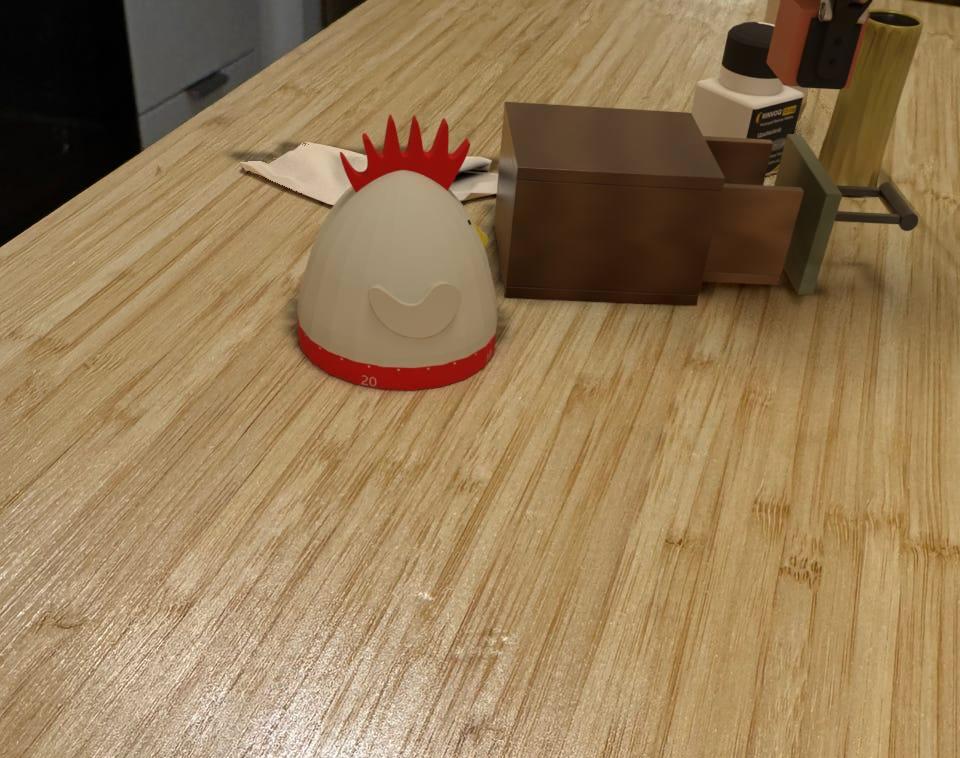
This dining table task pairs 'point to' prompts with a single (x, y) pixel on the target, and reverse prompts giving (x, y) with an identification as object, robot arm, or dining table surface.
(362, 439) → the dining table surface
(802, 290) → the drawer
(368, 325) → the kitchen timer
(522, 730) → the dining table surface
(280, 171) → the cloth
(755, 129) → the medicine bottle
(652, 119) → the cabinet
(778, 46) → the block
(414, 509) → the dining table surface
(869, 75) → the vase
